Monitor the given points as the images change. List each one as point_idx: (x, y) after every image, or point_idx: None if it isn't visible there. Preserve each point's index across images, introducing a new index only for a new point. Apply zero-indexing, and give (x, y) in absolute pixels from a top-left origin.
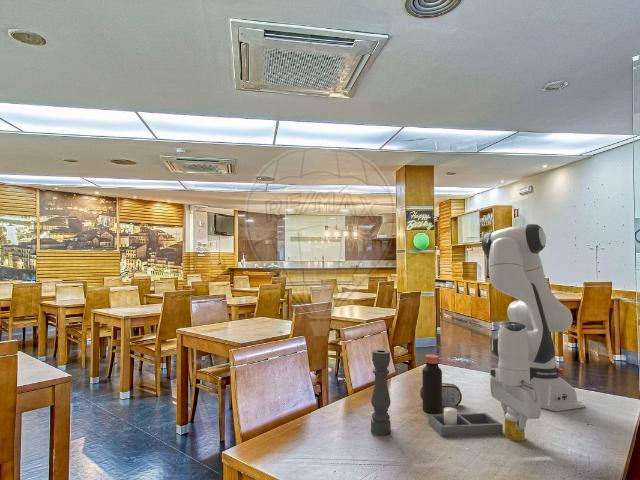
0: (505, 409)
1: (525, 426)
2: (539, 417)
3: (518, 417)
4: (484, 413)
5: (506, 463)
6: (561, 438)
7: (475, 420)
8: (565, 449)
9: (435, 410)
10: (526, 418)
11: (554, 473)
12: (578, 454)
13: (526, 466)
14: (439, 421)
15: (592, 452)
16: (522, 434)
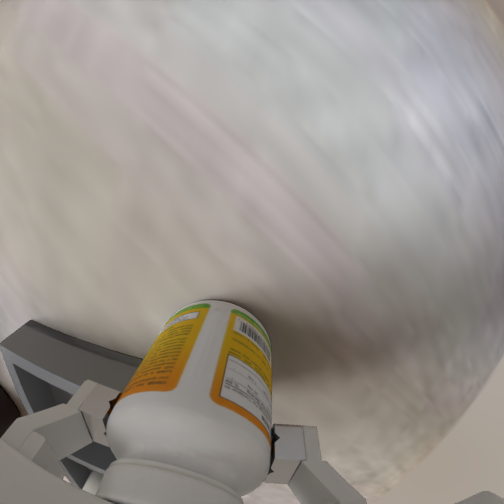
0: (71, 444)
1: (316, 431)
2: (493, 495)
3: (251, 486)
4: (8, 357)
5: (373, 465)
6: (272, 27)
7: (42, 382)
8: (413, 145)
9: (11, 422)
10: (351, 497)
11: (486, 378)
12: (466, 138)
13: (419, 431)
14: (82, 469)
15: (455, 51)
16: (271, 373)
